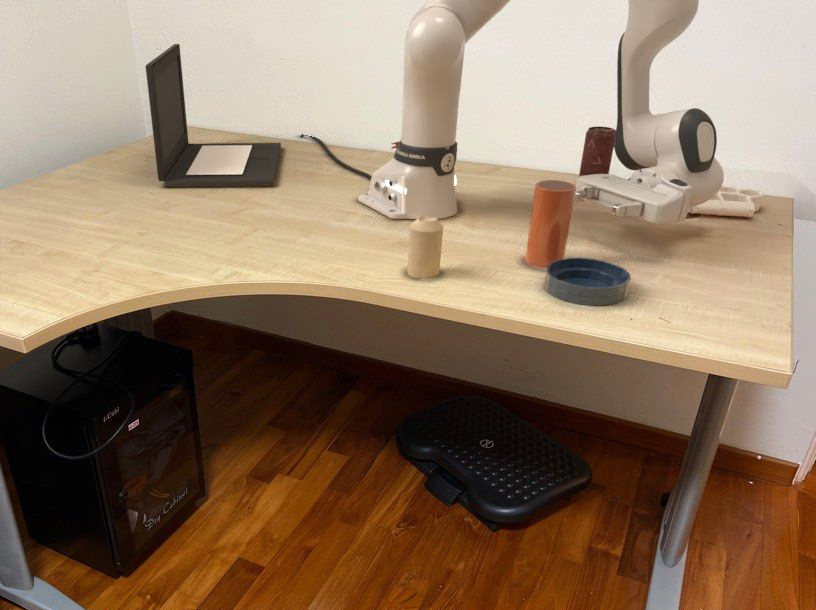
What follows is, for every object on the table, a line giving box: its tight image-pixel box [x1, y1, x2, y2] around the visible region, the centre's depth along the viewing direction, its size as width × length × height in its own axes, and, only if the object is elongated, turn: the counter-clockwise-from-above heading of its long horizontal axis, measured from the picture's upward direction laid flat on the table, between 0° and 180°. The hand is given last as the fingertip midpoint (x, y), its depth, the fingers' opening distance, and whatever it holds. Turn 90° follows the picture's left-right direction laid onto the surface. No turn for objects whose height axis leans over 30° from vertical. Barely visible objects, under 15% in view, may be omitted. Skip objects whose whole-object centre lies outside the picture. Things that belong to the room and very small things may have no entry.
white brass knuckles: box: [688, 184, 764, 219], centre depth 160 cm, size 3×18×15 cm
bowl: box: [543, 257, 632, 307], centre depth 124 cm, size 13×13×3 cm
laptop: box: [145, 43, 282, 188], centre depth 187 cm, size 37×27×27 cm
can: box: [578, 126, 616, 177], centre depth 168 cm, size 6×6×14 cm
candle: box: [406, 215, 444, 280], centre depth 129 cm, size 6×6×10 cm
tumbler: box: [524, 179, 576, 269], centre depth 132 cm, size 7×7×14 cm
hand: (594, 203), depth 135 cm, fingers open, 8 cm apart
